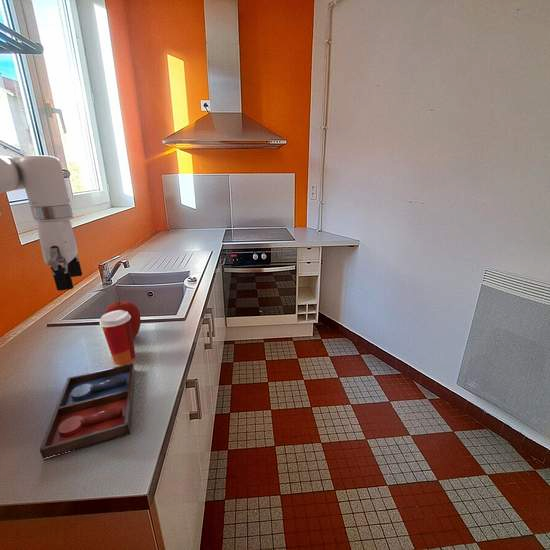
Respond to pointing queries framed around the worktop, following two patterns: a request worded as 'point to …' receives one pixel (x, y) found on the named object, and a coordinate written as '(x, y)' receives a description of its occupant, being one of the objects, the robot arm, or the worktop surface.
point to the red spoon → (86, 421)
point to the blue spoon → (95, 388)
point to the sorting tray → (91, 411)
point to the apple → (130, 309)
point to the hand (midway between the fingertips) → (70, 282)
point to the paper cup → (119, 336)
